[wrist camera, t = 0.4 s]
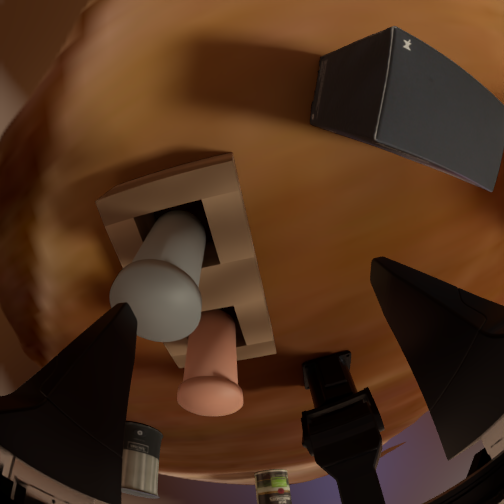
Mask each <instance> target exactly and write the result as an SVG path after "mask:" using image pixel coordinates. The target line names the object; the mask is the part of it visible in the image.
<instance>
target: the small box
mask: <svg viewBox="0 0 504 504" xmlns="http://www.w3.org/2000/svg"><path fill="white" fill-rule="evenodd" d="M319 66H320V68H319V71H318V79H317V86H316V90H315V95H314V100H313V102H312V107H311V108H312V109H311V117H310V124H311V125H314V126H316V127H319V128H322V129H325V130H328V131H331V132H334V133H336V134H340V135H343V136H346V137H349V138H352V139H355V140H358V141H361V142H364V143H367V144H370V145H373V146H376V147H378V148H381V149H384V150H387V151H389V152H392V153H394V154H397V155H399V156H402V157H405V158H407V159H410V160H413V161H415V162H418V163H420V164H423V165H426V166H429V167H431V168H434V169H436V170H439V171H441V172H444V173H446V174H449V175H451V176H454V177H456V178H459V179H461V180H463V181H466V182H468V183H471V184H473V185H475V186H478V187H480V188H483V189H485V190H487V191H490V192H492V191H493V189H494V186H495V182H496V179H497V175H498V172H499V168H500V164H501V159H502V154H503V149H504V105H503V104H502V103H501V102H500V101H499V100H498V99H497V98H496V97H495V96H494V95H493V94H492V93H491V92H490V91H489V90H488V89H487V88H485V87H484V86H483V85H482V84H481V83H480V82H478V81H477V80H476V79H475V78H474V77H472V76H471V75H470V74H469V73H467V72H466V71H465V70H464V69H462V68H461V67H460V66H458V65H457V64H456V63H454V62H453V61H452V60H450V59H449V58H447V57H446V56H444V55H443V54H441V53H440V52H438V51H437V50H435V49H434V48H432V47H431V46H429V45H428V44H426V43H424V42H423V41H421V40H419V39H418V38H416V37H414V36H412V35H411V34H409V33H407V32H405V31H404V30H402V29H400V28H398V27H396V26H393V27H389V28H387V29H386V30H383V31H380V32H378V33H376V34H372V35H370V36H367V37H365V38H363V39H360V40H358V41H355V42H353V43H351V44H349V45H347V46H344V47H342V48H340V49H338V50H336V51H333V52H331V53H329V54H326V55H324V56H322V57H320V61H319Z"/></svg>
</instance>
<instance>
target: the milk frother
mask: <svg viewBox="0 0 504 504" xmlns="http://www.w3.org/2000/svg"><path fill="white" fill-rule="evenodd" d="M162 438H163V435H162V433H161V432H159V431H158V430H156V429H154V428H152V427H150V426H146V425H143V424H139V423H133V422H126V423H125V433H124V444H123V457H122V458H123V460H122V484H121V492H124V493H127V494H131V495H135V496H140V497H147V498H159V496H158V494H157V484H158V483H157V482H158V467H159V454H160V446H161V439H162Z"/></svg>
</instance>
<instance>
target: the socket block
mask: <svg viewBox="0 0 504 504" xmlns="http://www.w3.org/2000/svg"><path fill="white" fill-rule="evenodd" d="M201 199H202V203H203V206H204V210H205V213H206V217H207V220H208V224H209V227H210V230H211V234H212V237H213V241H214V242H209V243H206V244H205V250H204V256H203V262H202V268H201V274H200V281H199V287H198V288H199V290H200V293H201V297H202V309H201V312H202V311H207V310H213V309H219V308H224V307H229V306H234V308H235V312H236V315H237V318H235V319H234V321H235V331H236V354H237V361H238V360H244V359H250V358H255V357H261V356H266V355H271V354H276V348H275V342H274V337H273V331H272V326H271V321H270V317H269V312H268V308H267V303H266V299H265V294H264V290H263V286H262V281H261V277H260V272H259V268H258V263H257V259H256V254H255V250H254V245H253V241H252V237H251V232H250V228H249V223H248V219H247V214H246V210H245V206H244V201H243V197H242V192H241V188H240V184H239V179H238V175H237V170H236V166H235V162H234V157H233V153H232V152H231V153H227V154H223V155H218V156H214V157H210V158H206V159H202V160H198V161H194V162H191V163H187V164H183V165H180V166H176V167H173V168H169V169H166V170H163V171H159V172H156V173H153V174H150V175H146V176H143V177H140V178H137V179H134V180H131V181H128V182H125V183H122V184H120V185H117V186H115V187H113V188H112V189H111V190H109V191H108V192H107V193H105V194H104V195H103V196H101V197H100V198H99V199H97V200H96V201H95V203H96V205H97V208H98V211H99V213H100V216H101V218H102V221H103V224H104V226H105V228H106V231H107V233H108V236H109V238H110V240H111V243H112V245H113V247H114V250H115V252H116V254H117V256H118V258H119V261H120V263H121V265H122V267H123V268H124V267H125V266H127V265H128V264H130V263H132V261H133V259H134V257H135V256H136V254H137V252H138V251H139V249H140V247H141V245H142V244H143V242H144V240H145V239H146V237H147V235H148V234H149V232H150V231H151V229H152V227H153V226H154V224H155V222H156V219H155V216H154V214H153V212H155V211H159V210H162V209H166V208H170V207H173V206H177V205H181V204H185V203H189V202H193V201H197V200H201ZM188 339H189V335H188V336H187V337H185V338H183V339H180V340H177V341H171V342H163V343H164V345H165V347H166V348H167V350H168V352H169V353H170V355H171V356H172V358H173V360H174V361H175V363H176V364H177V366H178V367H179V368H185V362H186V354H187V346H188Z"/></svg>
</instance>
